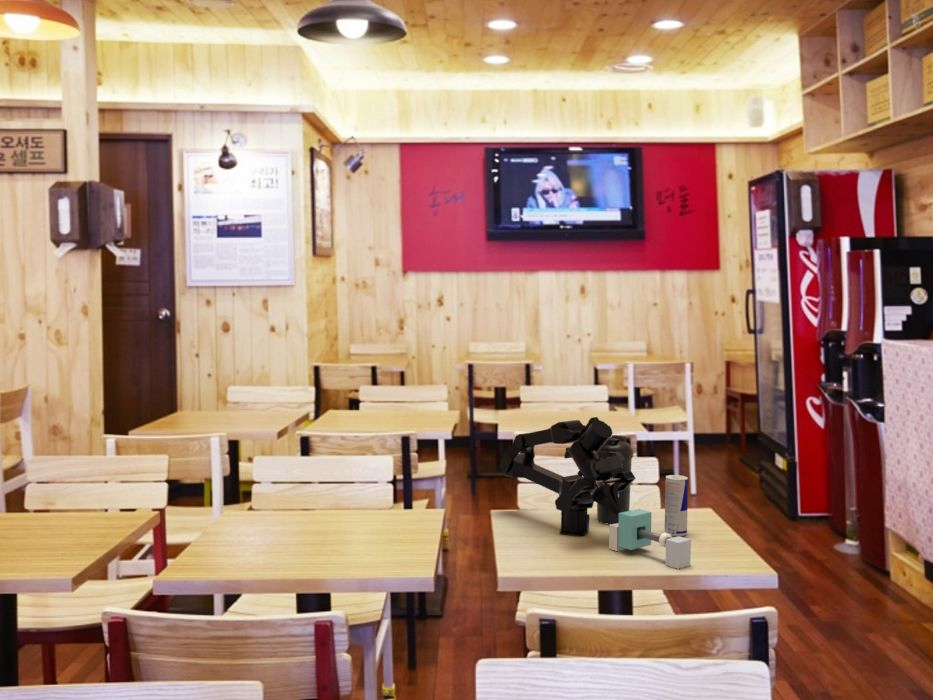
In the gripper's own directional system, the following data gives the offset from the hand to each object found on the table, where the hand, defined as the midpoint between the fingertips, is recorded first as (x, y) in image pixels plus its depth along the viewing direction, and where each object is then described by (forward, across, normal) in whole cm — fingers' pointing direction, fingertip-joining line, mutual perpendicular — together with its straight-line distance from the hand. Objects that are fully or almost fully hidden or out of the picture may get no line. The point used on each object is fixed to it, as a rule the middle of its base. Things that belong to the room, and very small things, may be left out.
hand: (619, 513), depth 219 cm
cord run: (+13, 0, -1) cm, 13 cm away
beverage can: (+7, +20, +5) cm, 22 cm away
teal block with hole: (+8, 0, +1) cm, 8 cm away
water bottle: (-7, +16, +18) cm, 26 cm away
